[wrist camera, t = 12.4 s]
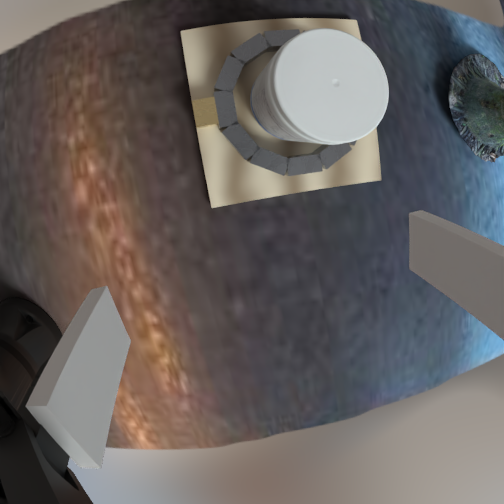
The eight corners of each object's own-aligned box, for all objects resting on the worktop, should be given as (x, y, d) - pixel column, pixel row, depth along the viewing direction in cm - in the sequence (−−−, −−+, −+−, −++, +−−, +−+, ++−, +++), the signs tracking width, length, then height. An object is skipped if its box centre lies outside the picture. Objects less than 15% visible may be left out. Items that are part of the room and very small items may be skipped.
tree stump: (516, 148, 40) (578, 175, 24) (437, 163, 45) (496, 196, 29) (501, 55, 33) (565, 54, 17) (415, 57, 37) (474, 45, 21)
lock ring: (208, 187, 36) (208, 190, 33) (184, 48, 29) (182, 42, 27) (379, 161, 37) (388, 163, 35) (359, 36, 31) (368, 31, 28)
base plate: (211, 206, 38) (211, 208, 36) (181, 34, 30) (180, 31, 29) (376, 178, 39) (381, 180, 38) (352, 22, 31) (356, 20, 30)
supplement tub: (296, 50, 31) (344, 6, 17) (342, 112, 34) (412, 104, 21) (230, 94, 32) (243, 64, 18) (281, 158, 35) (325, 170, 22)
